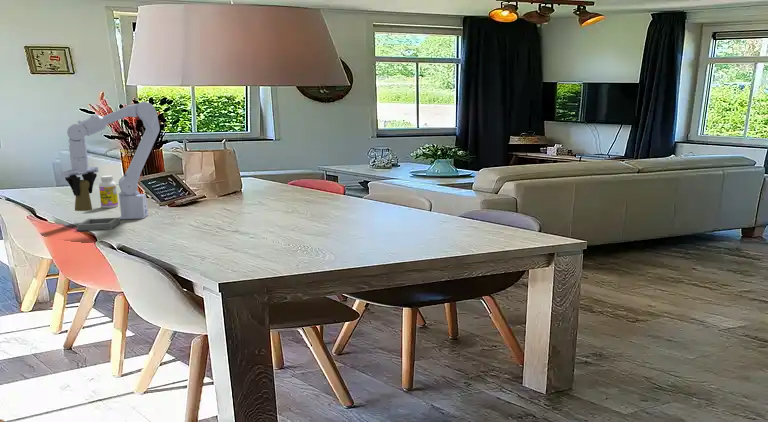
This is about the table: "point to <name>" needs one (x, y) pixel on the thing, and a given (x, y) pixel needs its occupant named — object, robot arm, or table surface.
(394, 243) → the table surface
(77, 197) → the cork
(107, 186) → the supplement bottle
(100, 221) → the socket holder
